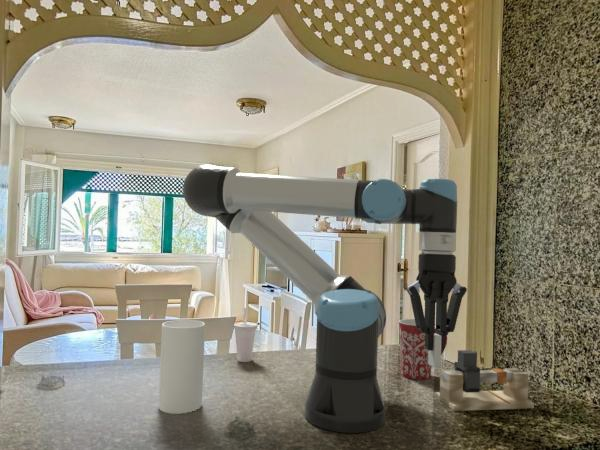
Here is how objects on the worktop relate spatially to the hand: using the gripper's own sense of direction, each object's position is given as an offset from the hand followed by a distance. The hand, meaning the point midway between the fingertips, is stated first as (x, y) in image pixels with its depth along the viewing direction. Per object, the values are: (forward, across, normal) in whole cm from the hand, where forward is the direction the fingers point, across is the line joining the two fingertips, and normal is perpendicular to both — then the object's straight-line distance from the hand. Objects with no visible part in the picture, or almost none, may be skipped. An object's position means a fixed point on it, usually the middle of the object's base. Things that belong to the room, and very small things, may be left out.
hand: (434, 365), depth 94 cm
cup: (+8, -52, +3) cm, 52 cm away
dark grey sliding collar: (+5, +7, 0) cm, 9 cm away
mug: (+8, +6, +19) cm, 22 cm away
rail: (+8, +11, 0) cm, 14 cm away
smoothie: (+8, -38, +35) cm, 52 cm away
